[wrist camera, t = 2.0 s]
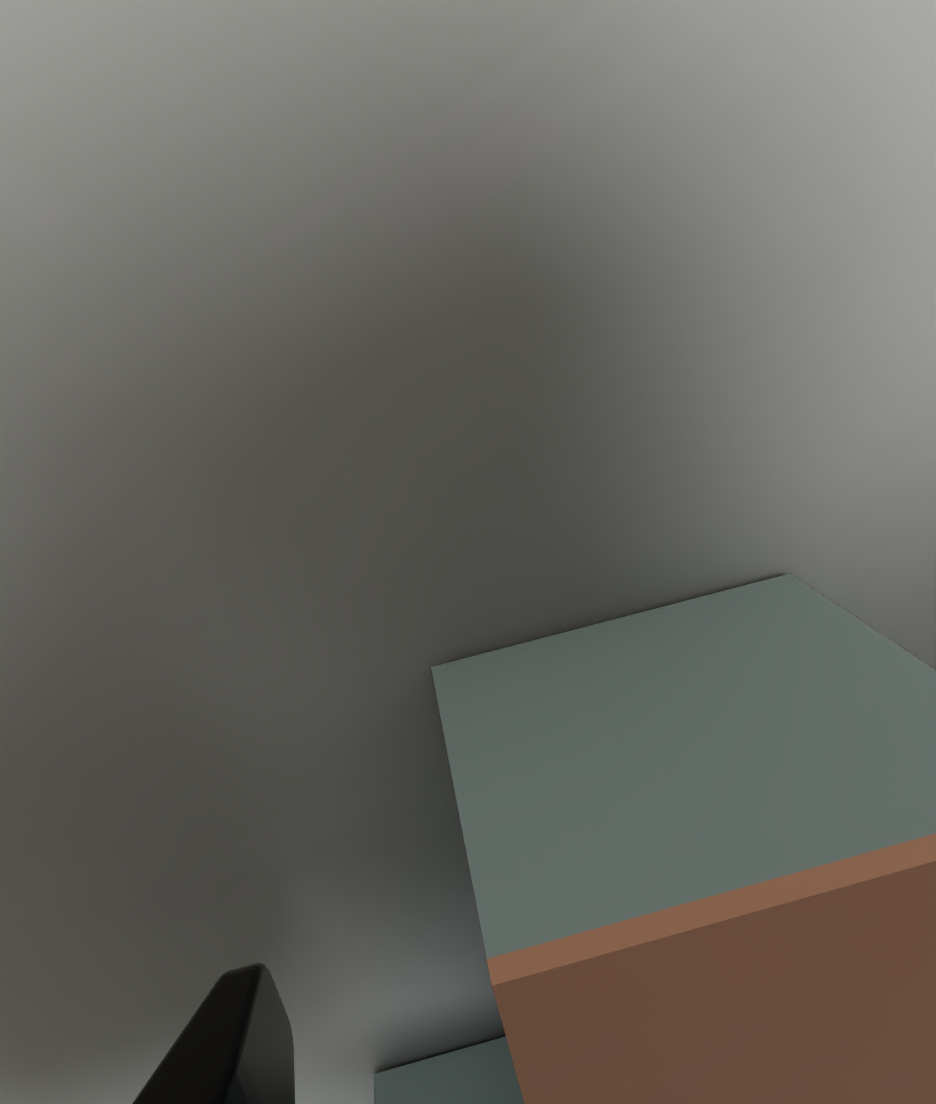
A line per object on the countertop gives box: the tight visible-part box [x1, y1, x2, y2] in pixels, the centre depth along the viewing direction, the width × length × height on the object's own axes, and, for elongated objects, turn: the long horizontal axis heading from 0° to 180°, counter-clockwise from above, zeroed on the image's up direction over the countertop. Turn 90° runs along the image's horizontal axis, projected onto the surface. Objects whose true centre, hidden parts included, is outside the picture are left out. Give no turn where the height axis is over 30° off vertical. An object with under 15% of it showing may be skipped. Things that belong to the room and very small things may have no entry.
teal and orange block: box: [431, 573, 936, 1104], centre depth 8 cm, size 4×5×4 cm
